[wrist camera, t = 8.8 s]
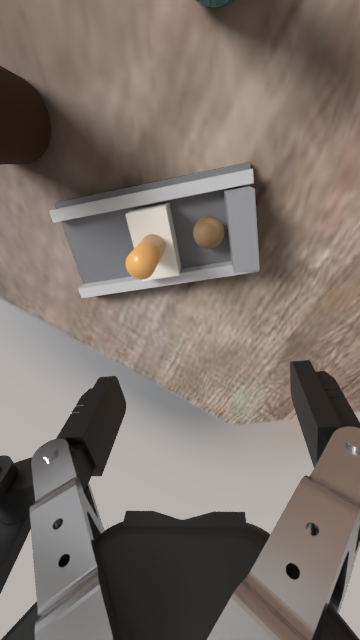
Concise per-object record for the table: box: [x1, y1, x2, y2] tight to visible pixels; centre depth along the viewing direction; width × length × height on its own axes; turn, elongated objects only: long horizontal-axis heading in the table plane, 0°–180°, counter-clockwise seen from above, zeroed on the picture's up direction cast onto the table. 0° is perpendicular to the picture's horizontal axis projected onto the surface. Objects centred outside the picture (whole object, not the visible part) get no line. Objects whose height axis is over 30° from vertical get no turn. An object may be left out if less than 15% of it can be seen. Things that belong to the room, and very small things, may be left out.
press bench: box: [49, 162, 260, 298], centre depth 37 cm, size 26×14×8 cm, turn 100°
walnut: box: [193, 216, 224, 249], centre depth 37 cm, size 4×4×4 cm
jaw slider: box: [125, 203, 182, 281], centre depth 34 cm, size 5×9×12 cm, turn 10°
